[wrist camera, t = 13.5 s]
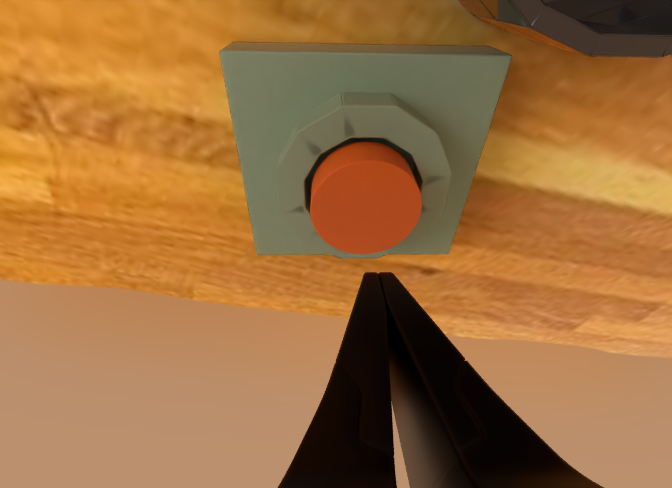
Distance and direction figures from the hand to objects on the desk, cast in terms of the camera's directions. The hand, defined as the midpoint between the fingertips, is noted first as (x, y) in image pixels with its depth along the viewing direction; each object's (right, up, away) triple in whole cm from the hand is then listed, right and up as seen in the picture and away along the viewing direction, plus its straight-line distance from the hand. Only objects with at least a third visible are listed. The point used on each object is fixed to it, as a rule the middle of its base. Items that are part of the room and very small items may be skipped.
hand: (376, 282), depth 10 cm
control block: (0, +6, +7) cm, 9 cm away
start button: (0, +4, +4) cm, 6 cm away
